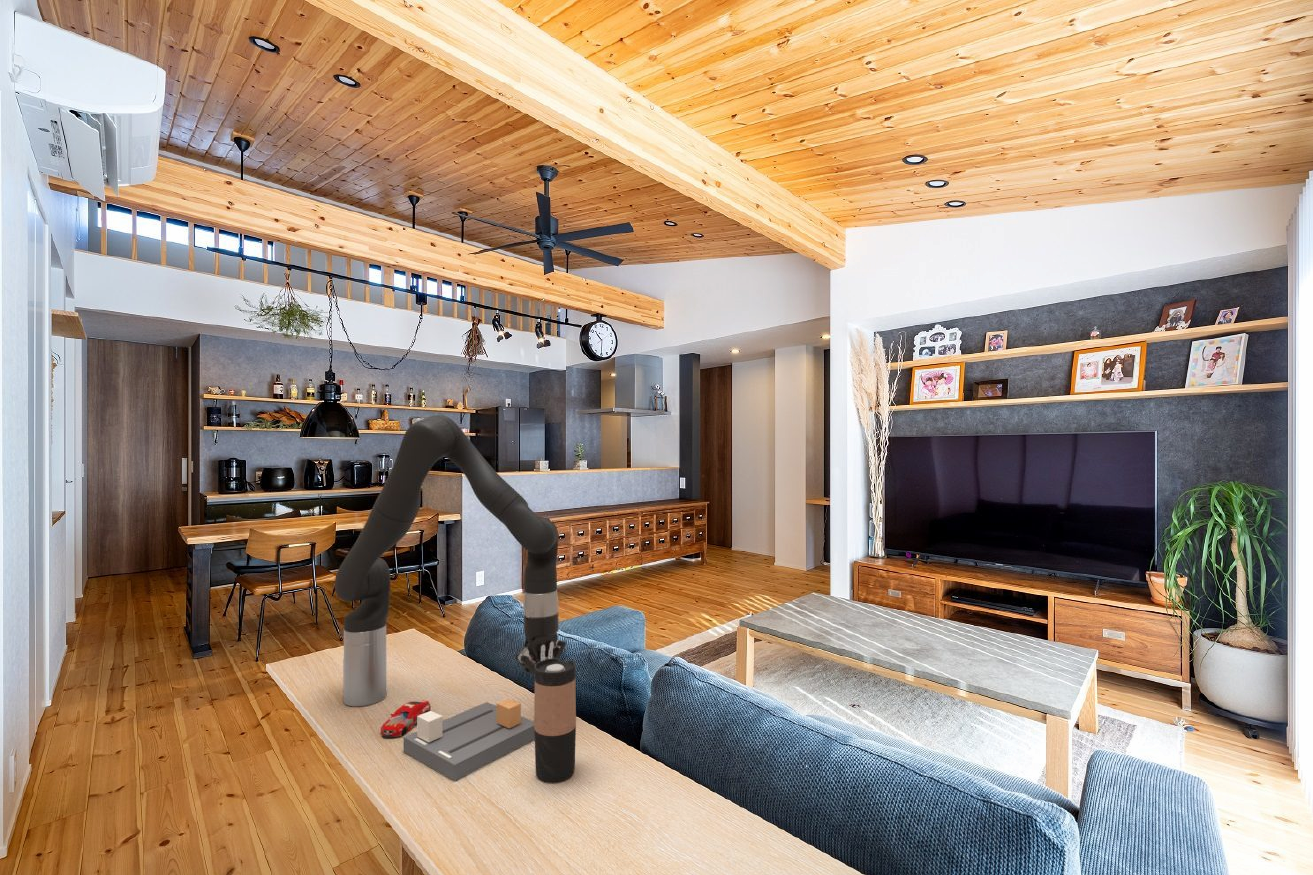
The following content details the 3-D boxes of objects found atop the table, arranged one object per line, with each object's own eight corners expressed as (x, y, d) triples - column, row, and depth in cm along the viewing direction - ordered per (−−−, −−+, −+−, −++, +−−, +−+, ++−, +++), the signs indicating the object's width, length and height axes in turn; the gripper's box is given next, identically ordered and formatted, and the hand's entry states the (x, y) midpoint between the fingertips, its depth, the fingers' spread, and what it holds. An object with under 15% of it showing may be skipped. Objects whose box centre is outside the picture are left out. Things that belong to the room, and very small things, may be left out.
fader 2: (496, 722, 125) (496, 703, 125) (508, 717, 127) (508, 698, 127) (509, 728, 123) (509, 708, 123) (520, 722, 125) (520, 703, 125)
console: (403, 752, 120) (403, 736, 120) (486, 715, 136) (486, 701, 136) (454, 781, 110) (454, 764, 110) (538, 737, 126) (538, 722, 126)
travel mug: (541, 788, 107) (541, 675, 107) (529, 767, 114) (529, 661, 114) (581, 777, 111) (581, 668, 111) (568, 757, 118) (567, 655, 118)
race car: (397, 742, 125) (397, 723, 124) (375, 739, 126) (374, 720, 126) (435, 713, 137) (435, 695, 137) (414, 711, 139) (414, 693, 139)
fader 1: (417, 736, 119) (417, 716, 119) (430, 730, 122) (430, 710, 122) (428, 742, 117) (428, 721, 117) (442, 736, 119) (442, 716, 119)
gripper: (551, 601, 140) (552, 677, 139) (505, 615, 129) (506, 696, 129) (574, 606, 135) (575, 684, 135) (529, 621, 125) (529, 705, 124)
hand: (541, 690), depth 132 cm, fingers closed
